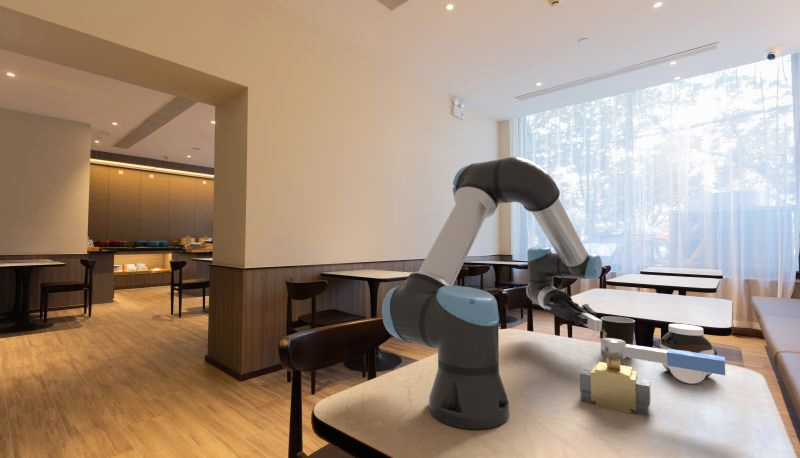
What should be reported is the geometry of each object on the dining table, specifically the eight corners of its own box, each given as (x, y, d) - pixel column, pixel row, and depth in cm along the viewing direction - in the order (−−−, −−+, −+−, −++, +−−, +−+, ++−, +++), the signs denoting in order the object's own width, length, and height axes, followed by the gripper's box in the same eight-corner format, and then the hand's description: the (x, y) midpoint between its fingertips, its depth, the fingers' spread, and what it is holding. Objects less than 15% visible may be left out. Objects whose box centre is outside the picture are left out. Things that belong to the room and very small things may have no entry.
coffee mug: (634, 361, 101) (633, 324, 101) (599, 355, 106) (598, 320, 107) (638, 350, 110) (637, 317, 111) (605, 346, 116) (604, 313, 116)
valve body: (579, 401, 76) (578, 354, 76) (584, 391, 80) (583, 348, 81) (649, 417, 69) (648, 366, 69) (651, 405, 73) (649, 357, 74)
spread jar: (696, 369, 94) (694, 323, 95) (734, 386, 83) (732, 334, 83) (648, 369, 95) (646, 323, 95) (680, 386, 83) (678, 334, 84)
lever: (603, 351, 78) (603, 336, 78) (724, 371, 66) (724, 354, 66) (598, 356, 75) (598, 341, 75) (725, 378, 62) (724, 360, 62)
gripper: (575, 314, 114) (623, 342, 91) (532, 312, 114) (570, 339, 90) (577, 290, 114) (626, 311, 90) (534, 288, 113) (572, 309, 90)
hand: (598, 325), depth 90 cm, fingers closed
